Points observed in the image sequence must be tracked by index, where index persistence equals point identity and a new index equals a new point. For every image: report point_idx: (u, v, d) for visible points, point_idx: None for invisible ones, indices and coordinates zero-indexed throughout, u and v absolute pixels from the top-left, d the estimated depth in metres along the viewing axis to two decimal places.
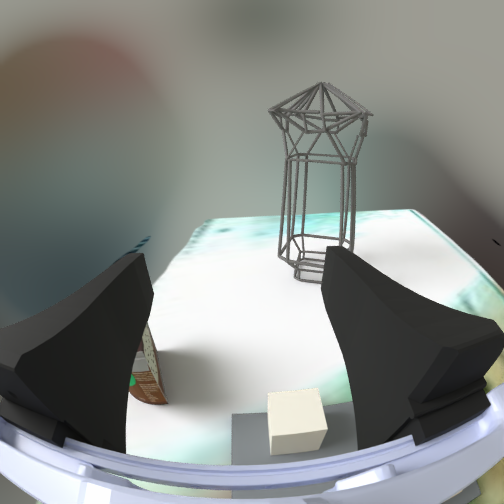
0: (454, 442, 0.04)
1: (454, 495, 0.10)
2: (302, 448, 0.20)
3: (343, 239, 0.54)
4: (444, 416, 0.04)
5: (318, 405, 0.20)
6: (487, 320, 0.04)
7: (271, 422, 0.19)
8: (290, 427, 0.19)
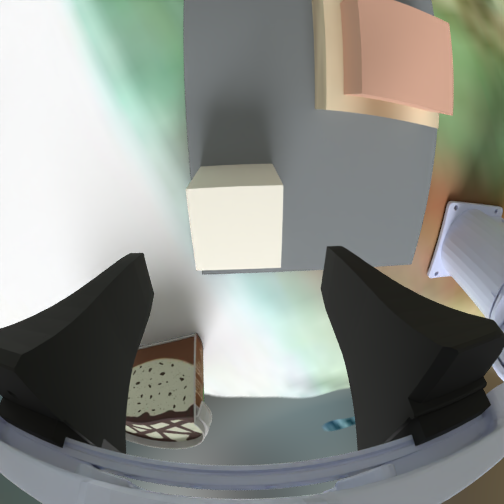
0: (454, 442, 0.04)
1: None
2: None
3: None
4: (444, 416, 0.04)
5: (228, 193, 0.13)
6: (487, 320, 0.04)
7: (255, 266, 0.15)
8: (268, 242, 0.14)
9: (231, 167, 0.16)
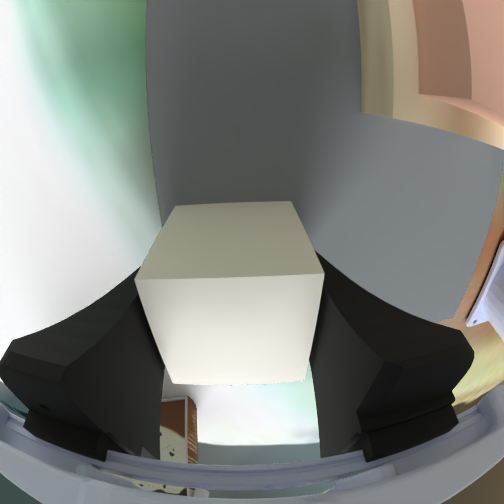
0: (454, 442, 0.04)
1: None
2: None
3: None
4: (400, 433, 0.04)
5: (215, 289, 0.06)
6: (453, 330, 0.04)
7: (264, 381, 0.09)
8: (288, 355, 0.08)
9: (224, 210, 0.10)
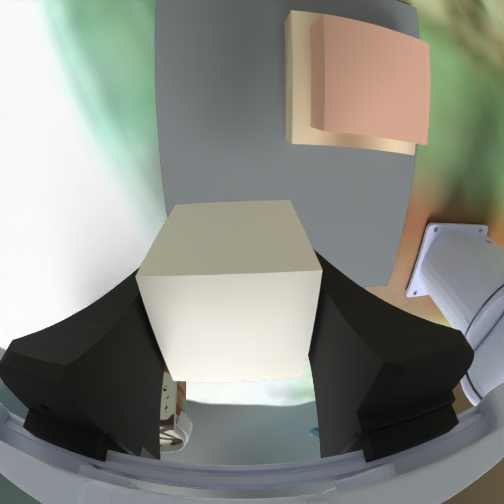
0: (454, 442, 0.04)
1: None
2: None
3: None
4: (400, 433, 0.04)
5: (215, 285, 0.07)
6: (453, 331, 0.04)
7: (263, 377, 0.09)
8: (287, 351, 0.08)
9: (223, 209, 0.10)
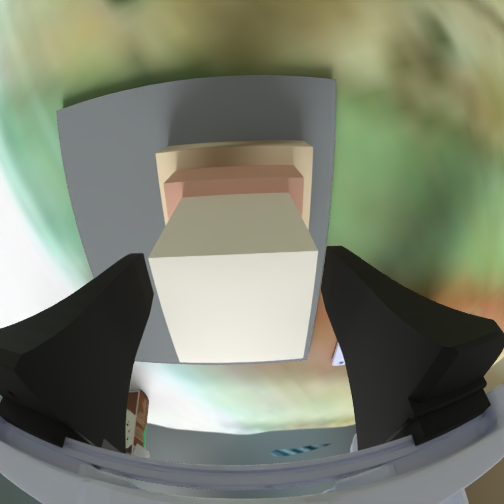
0: (454, 442, 0.04)
1: None
2: None
3: None
4: (444, 416, 0.04)
5: (221, 265, 0.07)
6: (487, 320, 0.04)
7: (265, 358, 0.10)
8: (287, 331, 0.09)
9: (227, 200, 0.11)
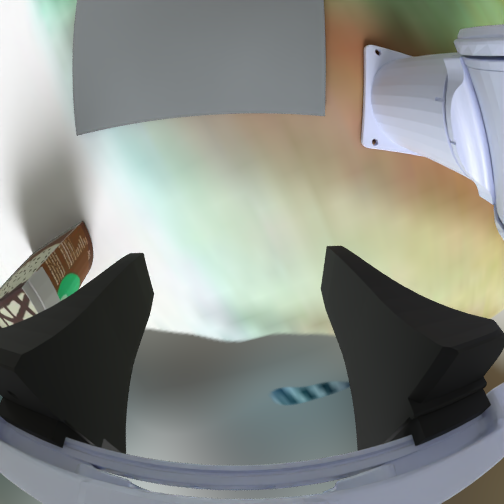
0: (454, 442, 0.04)
1: None
2: None
3: None
4: (444, 416, 0.04)
5: None
6: (487, 320, 0.04)
7: None
8: None
9: None
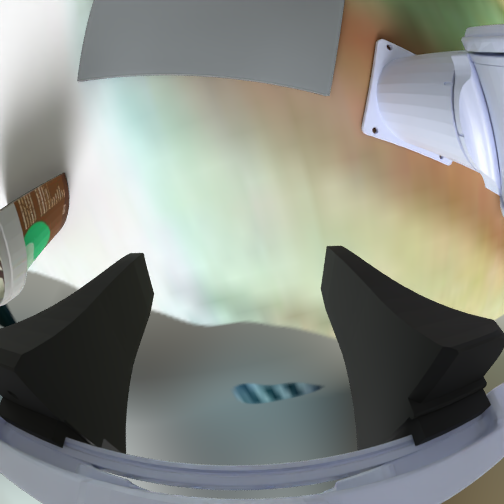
0: (454, 442, 0.04)
1: None
2: None
3: None
4: (444, 416, 0.04)
5: None
6: (487, 320, 0.04)
7: None
8: None
9: None
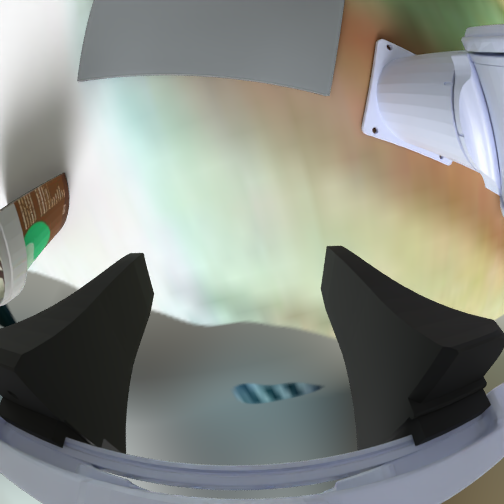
0: (454, 442, 0.04)
1: None
2: None
3: None
4: (444, 416, 0.04)
5: None
6: (487, 320, 0.04)
7: None
8: None
9: None
